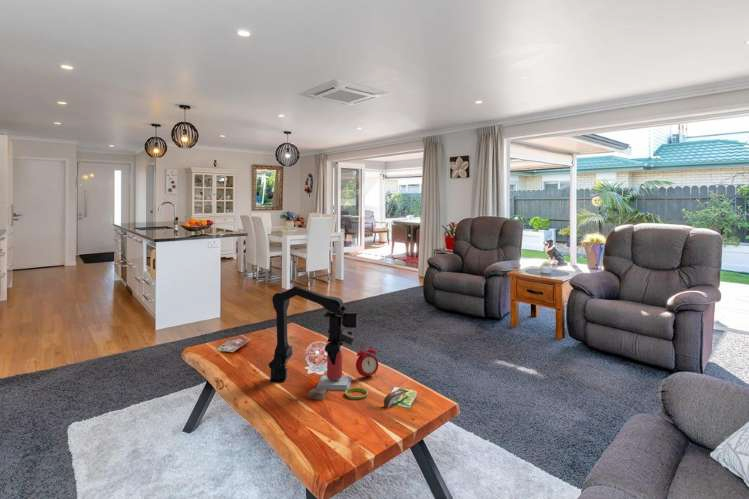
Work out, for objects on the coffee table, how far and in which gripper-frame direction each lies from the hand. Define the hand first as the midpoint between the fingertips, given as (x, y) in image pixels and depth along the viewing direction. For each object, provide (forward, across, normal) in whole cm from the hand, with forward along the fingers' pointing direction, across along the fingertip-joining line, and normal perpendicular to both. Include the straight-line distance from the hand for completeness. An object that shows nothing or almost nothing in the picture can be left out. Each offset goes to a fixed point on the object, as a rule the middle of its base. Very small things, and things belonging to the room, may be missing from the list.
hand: (334, 362), depth 182 cm
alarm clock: (+10, +10, -14) cm, 20 cm away
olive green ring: (+17, -12, -11) cm, 23 cm away
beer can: (+7, 0, 0) cm, 7 cm away
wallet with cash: (+16, -12, -27) cm, 34 cm away
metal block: (+10, -15, +5) cm, 19 cm away
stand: (+10, 0, 0) cm, 10 cm away
